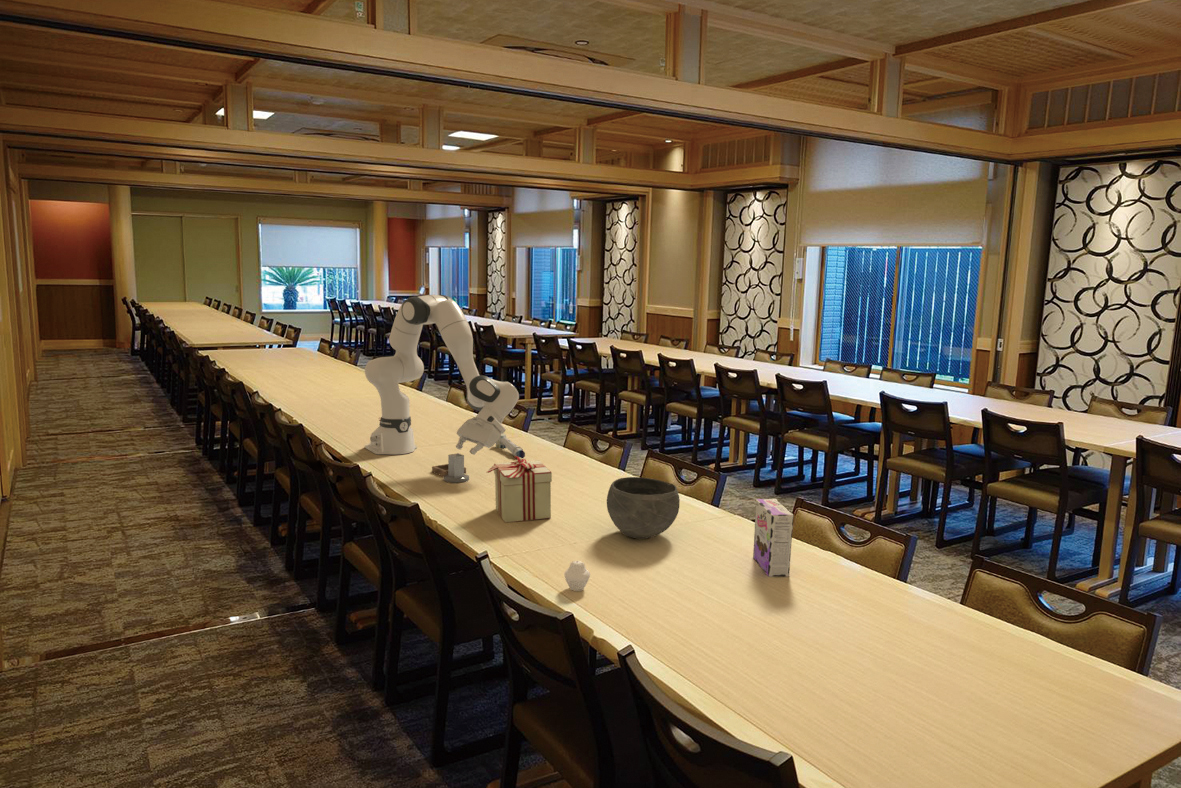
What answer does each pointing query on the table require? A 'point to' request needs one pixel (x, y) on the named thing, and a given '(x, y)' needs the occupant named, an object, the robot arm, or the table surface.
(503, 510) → the gift box
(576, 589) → the beige stone rounded piece
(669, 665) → the table surface
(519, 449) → the grey flashlight
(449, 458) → the steel block
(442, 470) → the socket
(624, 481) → the bowl
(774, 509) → the candy box
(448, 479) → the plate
